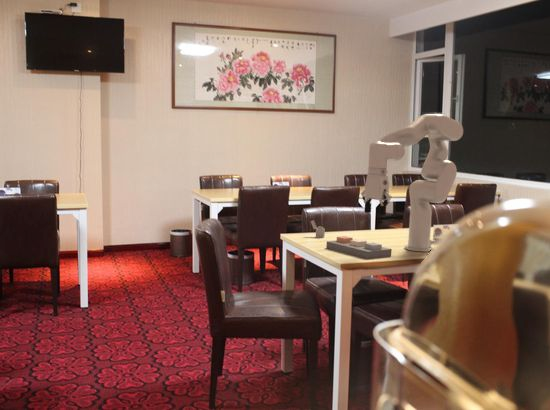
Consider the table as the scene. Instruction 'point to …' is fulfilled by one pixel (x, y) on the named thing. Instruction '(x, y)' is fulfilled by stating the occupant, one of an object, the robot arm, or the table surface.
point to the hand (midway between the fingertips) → (374, 213)
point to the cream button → (358, 242)
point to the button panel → (358, 250)
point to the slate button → (373, 246)
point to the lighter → (318, 230)
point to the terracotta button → (344, 239)
